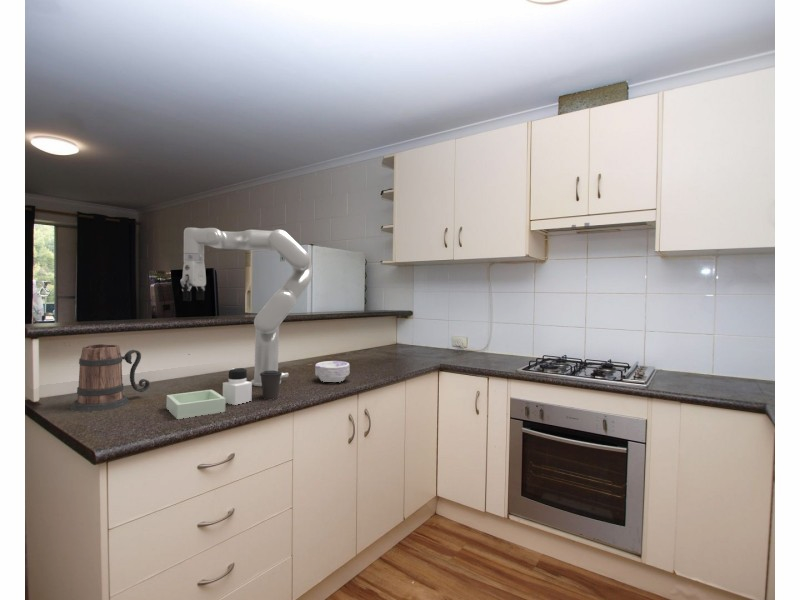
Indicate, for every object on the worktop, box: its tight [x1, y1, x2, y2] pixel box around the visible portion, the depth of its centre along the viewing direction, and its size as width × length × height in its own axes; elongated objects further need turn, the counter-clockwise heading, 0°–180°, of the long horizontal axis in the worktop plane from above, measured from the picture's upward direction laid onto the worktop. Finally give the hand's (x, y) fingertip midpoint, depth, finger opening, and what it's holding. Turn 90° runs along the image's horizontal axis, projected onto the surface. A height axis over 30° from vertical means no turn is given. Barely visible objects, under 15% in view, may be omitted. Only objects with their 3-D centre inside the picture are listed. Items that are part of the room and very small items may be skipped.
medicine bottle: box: [222, 367, 253, 406], centre depth 153 cm, size 7×7×12 cm
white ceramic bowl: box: [314, 360, 351, 383], centre depth 191 cm, size 15×15×8 cm
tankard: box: [69, 343, 150, 413], centre depth 147 cm, size 24×17×20 cm
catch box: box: [166, 389, 226, 420], centre depth 142 cm, size 14×14×4 cm
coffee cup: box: [260, 370, 283, 400], centre depth 160 cm, size 8×8×10 cm
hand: (193, 300), depth 175 cm, fingers open, 9 cm apart
